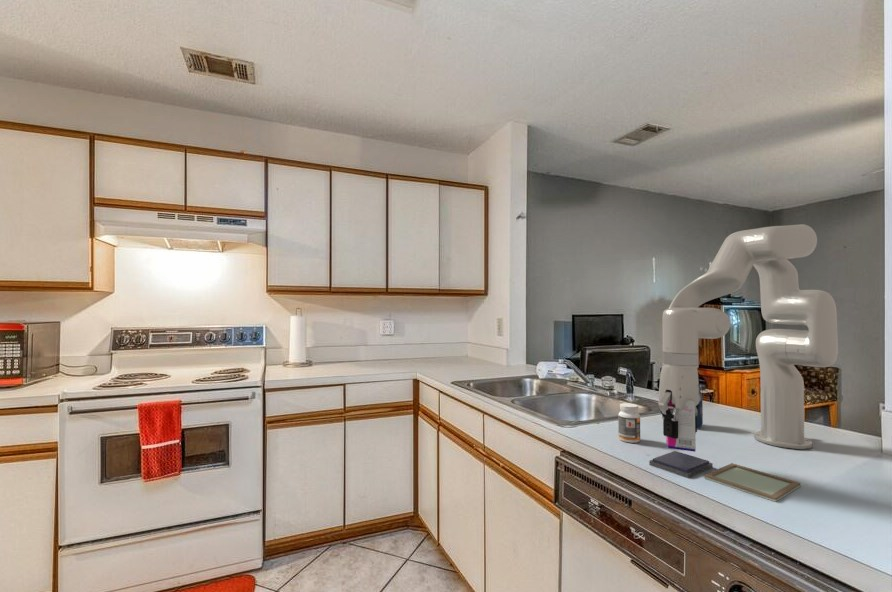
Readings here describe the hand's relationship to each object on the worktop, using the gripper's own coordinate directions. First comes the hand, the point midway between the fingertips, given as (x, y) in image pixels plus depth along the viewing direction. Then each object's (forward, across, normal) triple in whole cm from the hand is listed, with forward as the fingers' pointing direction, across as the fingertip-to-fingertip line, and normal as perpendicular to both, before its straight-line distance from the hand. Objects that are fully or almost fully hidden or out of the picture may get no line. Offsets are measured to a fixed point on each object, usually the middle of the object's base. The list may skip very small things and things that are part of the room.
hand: (680, 433), depth 99 cm
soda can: (+8, -36, -16) cm, 40 cm away
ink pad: (+8, 0, 0) cm, 8 cm away
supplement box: (+3, 0, 0) cm, 3 cm away
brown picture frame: (+8, -4, +13) cm, 16 cm away
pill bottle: (+8, -7, -18) cm, 21 cm away
